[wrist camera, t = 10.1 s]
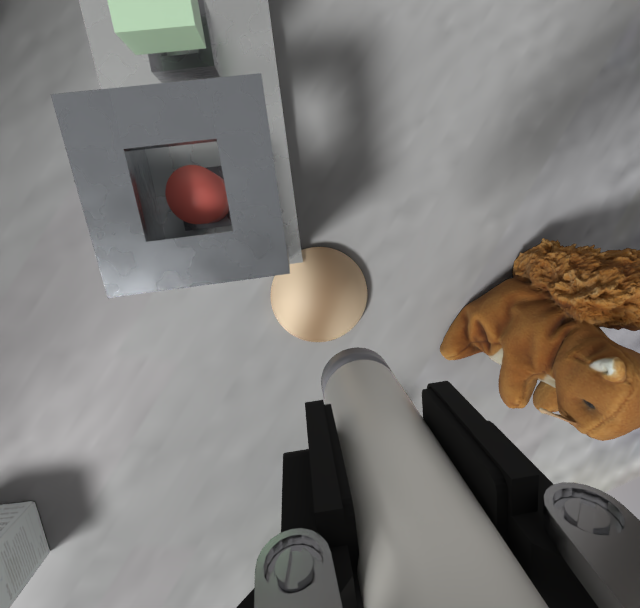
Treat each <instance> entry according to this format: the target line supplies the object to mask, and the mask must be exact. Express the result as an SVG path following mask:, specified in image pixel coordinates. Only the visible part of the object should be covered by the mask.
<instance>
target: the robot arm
mask: <svg viewBox="0 0 640 608" xmlns="http://www.w3.org/2000/svg"><path fill="white" fill-rule="evenodd" d="M422 405H423V419H424V421H425V422H426V424H427V425H428V427H429V428H430V430H431V431H432V433H433V434H434V436H435V437H436V439H437V440H438V442H439V443H440V445H441V446H442V448H443V449H444V451H445V452H446V454H447V455H448V457H449V458H450V460H451V461H452V463H453V464H454V466H455V467H456V469H457V470H458V472H459V473H460V475H461V476H462V478H463V479H464V481H465V482H466V484H467V486H468V487H469V489H470V490H471V492H472V493H473V495H474V496H475V498H476V499H477V501H478V502H479V504H480V505H481V507H482V508H483V510H484V511H485V513H486V514H487V516H488V517H489V519H490V520H491V522H492V523H493V525H494V526H495V528H496V529H497V531H498V532H499V534H500V535H501V537H502V538H503V540H504V541H505V543H506V544H507V546H508V547H509V549H510V550H511V552H512V553H513V555H514V556H515V558H516V559H517V561H518V562H519V564H520V565H521V567H522V568H523V570H524V571H525V573H526V574H527V576H528V577H529V579H530V580H531V582H532V583H533V585H534V586H535V588H536V589H537V591H538V592H539V594H540V595H541V597H542V598H543V600H544V601H545V603H546V604H547V606H548V607H549V608H640V520H639V519H637V518H636V517H635V516H634V515H633V514H632V513H631V512H630V511H629V510H628V509H627V508H626V507H625V506H624V505H622V504H621V503H620V502H619V501H617V500H616V499H615V498H613V497H612V496H610V495H608V494H606V493H604V492H603V491H601V490H598V489H596V488H593V487H590V486H588V485H583V484H578V483H558V484H553V483H552V482H551V481H550V480H549V479H548V478H547V477H546V476H545V475H544V474H543V473H542V472H541V471H540V470H539V469H538V468H537V467H536V466H535V465H534V464H533V463H532V462H531V461H530V460H529V459H528V458H527V457H526V456H525V455H524V454H523V453H522V452H521V451H520V450H519V449H518V448H517V447H516V446H515V445H514V444H513V443H512V442H511V441H510V440H509V439H508V438H507V437H506V436H505V435H504V434H503V433H502V432H501V431H500V430H499V429H498V428H497V427H496V426H495V425H494V424H493V423H492V422H490V421H486V420H485V419H484V417H483V416H482V415H481V414H480V413H479V412H478V411H477V410H476V409H475V408H474V407H473V406H472V405H471V404H470V403H469V402H468V401H467V400H466V399H465V398H464V397H463V396H462V395H461V394H460V393H459V392H458V391H457V390H456V389H455V388H454V387H453V386H452V384H451V383H450V382H448V381H443V382H436V383H430V384H428V386H427V389H423V390H422ZM305 409H306V421H307V433H308V444H309V449H306V450H300V451H294V452H287V453H284V454H283V483H282V521H281V533H279V534H278V535H277V536H275V537H274V538H272V539H271V540H270V541H269V542H268V543H267V544H266V545H265V547H264V548H263V549H262V551H261V553H260V555H259V557H258V559H257V563H256V568H255V588H254V589H253V590H252V591H251V592H250V593H249V594H248V596H247V597H246V598H245V599H244V600H243V601H242V602H241V603H240V604H239V605H238V607H237V608H364V607H363V602H362V596H361V591H360V586H359V581H358V575H357V565H358V558H359V546H358V538H357V529H356V521H355V513H354V507H353V501H352V496H351V492H350V487H349V483H348V478H347V474H346V469H345V465H344V460H343V456H342V451H341V447H340V442H339V438H338V433H337V429H336V424H335V420H334V415H333V411H332V406H331V404H326V405H324V402H323V400H319V401H312V402H306V403H305Z"/></svg>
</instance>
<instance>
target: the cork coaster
mask: <svg viewBox="0 0 640 608" xmlns="http://www.w3.org/2000/svg"><path fill="white" fill-rule="evenodd" d="M301 252H302V259H303V262H302V263H294V264H290V274H284V275H276V276H274V279H273V282H272V287H271V304H272V308H273V311H274V314H275V316H276V318H277V320H278V321H279V323H280V324H281V325H282V326H283V327H284V328H285V330H287V331H288V332H289V333H290V334H292V335H294V336H295V337H298V338H300V339H303V340H306V341H311V342H326V341H330V340H334V339H337V338H339V337H341V336H343V335H344V334H346V333H347V332H349V331H350V330H351V329H352V328H353V327H354V326H355V325H356V324H357V323H358V321H359V320H360V318H361V316H362V314H363V312H364V310H365V307H366V303H367V285H366V281H365V278H364V276H363V273H362V271H361V270H360V268H359V267H358V265H357V264H356V263H355V262H354V261H353V260H352V259H351V258H350V257H348V256H347V255H345V254H344V253H342V252H340V251H338V250H335V249H332V248H328V247H311V248H306V249H303V250H301Z"/></svg>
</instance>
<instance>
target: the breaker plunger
mask: <svg viewBox="0 0 640 608" xmlns="http://www.w3.org/2000/svg"><path fill="white" fill-rule="evenodd" d="M165 195H166V200H167V203H168V205H169V207H170V209H171V210H172V212H173V213H174V214H175V215H176V216H177V217H178V218H180V219H181V220H183V221H185V222H187V223H191V224H208V223H215V222H218V221H220V220H221V219H223V218H224V217H225V216H226V215H227V213H228V212H229V206H228V200H227V195H226V189H225V183H224V180H223V179H222V178H221V177H220V176H218V175H216V174H215V173H213V172H212V171H210V170H208V169H206V168H204V167H202V166H198V165H186V166H183V167H180V168H178V169H177V170H175V171H174V172H173V173H172V174H171V176H170V177H169V179H168V181H167V184H166V190H165Z"/></svg>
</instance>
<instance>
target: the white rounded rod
mask: <svg viewBox="0 0 640 608" xmlns="http://www.w3.org/2000/svg"><path fill="white" fill-rule="evenodd" d="M321 386H322V391H323V396H324V402H325V405H326V404H331V406H332V411H333V415H334V420H335V424H336V429H337V433H338V438H339V442H340V447H341V451H342V456H343V460H344V465H345V469H346V474H347V478H348V483H349V487H350V492H351V496H352V501H353V507H354V513H355V521H356V529H357V538H358V546H359V558H358V565H357V575H358V581H359V586H360V591H361V596H362V602H363V607H364V608H549V607H548V606H547V604H546V603H545V601H544V600H543V598H542V597H541V595H540V594H539V592H538V591H537V589H536V588H535V586H534V585H533V583H532V582H531V580H530V579H529V577H528V576H527V574H526V573H525V571H524V570H523V568H522V567H521V565H520V564H519V562H518V561H517V559H516V558H515V556H514V555H513V553H512V552H511V550H510V549H509V547H508V546H507V544H506V543H505V541H504V540H503V538H502V537H501V535H500V534H499V532H498V531H497V529H496V528H495V526H494V525H493V523H492V522H491V520H490V519H489V517H488V516H487V514H486V513H485V511H484V510H483V508H482V507H481V505H480V504H479V502H478V501H477V499H476V498H475V496H474V495H473V493H472V492H471V490H470V489H469V487H468V486H467V484H466V482H465V481H464V479H463V478H462V476H461V475H460V473H459V472H458V470H457V469H456V467H455V466H454V464H453V463H452V461H451V460H450V458H449V457H448V455H447V454H446V452H445V451H444V449H443V448H442V446H441V445H440V443H439V442H438V440H437V439H436V437H435V436H434V434H433V433H432V431H431V430H430V428H429V427H428V425H427V424H426V422H425V421H424V419H423V418H422V416H421V415H420V413H419V412H418V410H417V409H416V407H415V406H414V404H413V403H412V401H411V400H410V398H409V397H408V395H407V394H406V392H405V391H404V389H403V388H402V386H401V385H400V383H399V382H398V380H397V379H396V377H395V376H394V374H393V373H392V371H391V370H390V368H389V367H388V365H387V364H386V362H385V361H384V359H383V358H382V357H381V356H380V355H378V354H377V353H375V352H374V351H372V350H369V349H366V348H350V349H346V350H343V351H341V352H339V353H338V354H336V355H335V356H334V357H332V358H331V359H330V360H329V362H328V363H327V364H326V366H325V368H324V370H323V373H322V377H321Z"/></svg>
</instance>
